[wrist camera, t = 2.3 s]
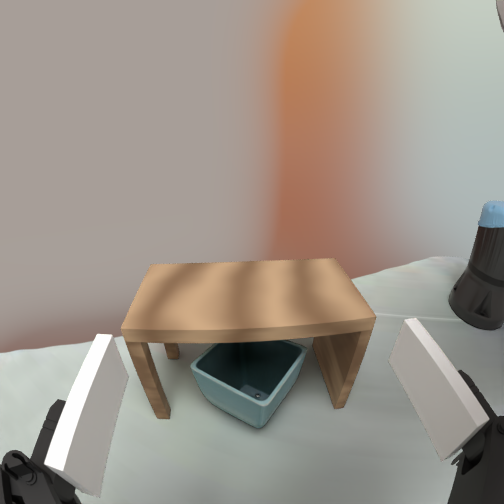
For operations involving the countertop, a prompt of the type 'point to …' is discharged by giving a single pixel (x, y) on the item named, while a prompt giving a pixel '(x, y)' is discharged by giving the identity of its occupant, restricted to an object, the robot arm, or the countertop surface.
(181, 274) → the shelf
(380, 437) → the countertop surface
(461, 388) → the robot arm
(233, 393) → the flower pot
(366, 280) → the countertop surface
